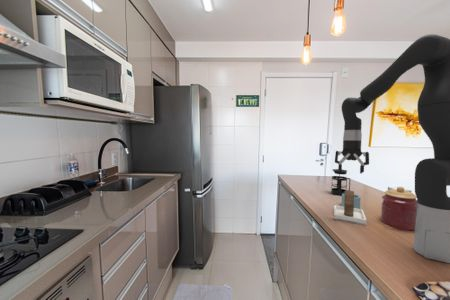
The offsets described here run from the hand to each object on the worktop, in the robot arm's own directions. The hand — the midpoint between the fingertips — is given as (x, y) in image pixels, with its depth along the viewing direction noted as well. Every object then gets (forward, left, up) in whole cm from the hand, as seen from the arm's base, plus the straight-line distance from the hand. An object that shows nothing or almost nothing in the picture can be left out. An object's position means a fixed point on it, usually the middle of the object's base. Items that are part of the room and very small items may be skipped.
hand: (350, 172), depth 100 cm
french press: (+41, +3, -23) cm, 47 cm away
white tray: (0, 0, -23) cm, 23 cm away
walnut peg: (0, 0, -22) cm, 22 cm away
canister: (+1, -20, -23) cm, 30 cm away
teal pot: (+15, -2, -23) cm, 27 cm away
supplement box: (+21, -24, -23) cm, 39 cm away
